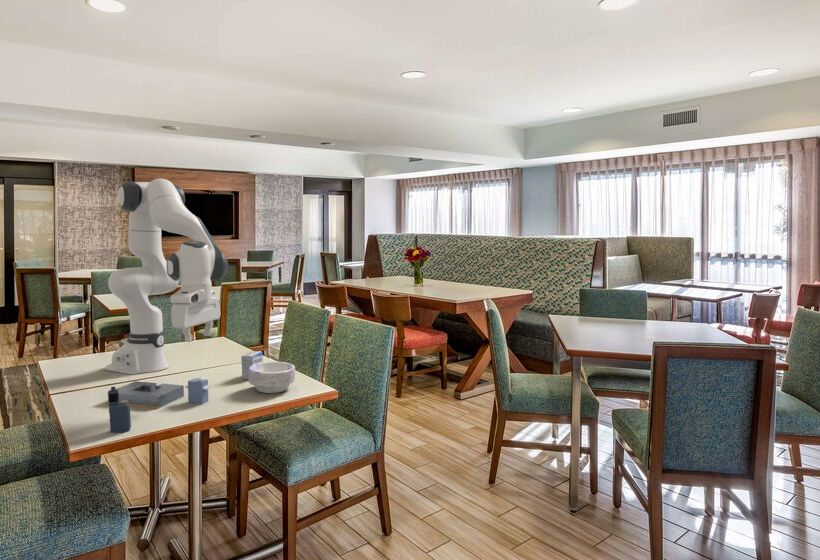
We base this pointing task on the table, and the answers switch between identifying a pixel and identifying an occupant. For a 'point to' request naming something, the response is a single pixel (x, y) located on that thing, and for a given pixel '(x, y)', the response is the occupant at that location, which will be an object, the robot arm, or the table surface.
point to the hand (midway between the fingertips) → (198, 338)
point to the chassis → (149, 394)
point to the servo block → (198, 391)
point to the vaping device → (118, 412)
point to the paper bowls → (271, 376)
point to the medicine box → (250, 362)
